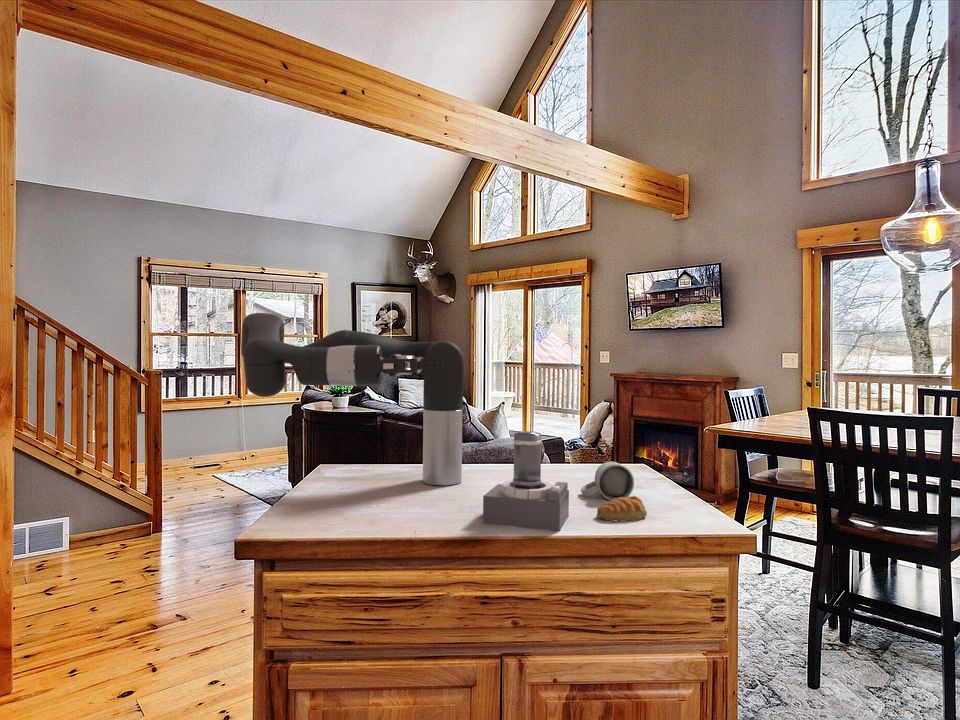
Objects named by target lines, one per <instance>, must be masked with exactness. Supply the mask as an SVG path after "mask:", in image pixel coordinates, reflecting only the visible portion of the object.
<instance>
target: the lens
mask: <svg viewBox="0 0 960 720" xmlns="http://www.w3.org/2000/svg"><path fill="white" fill-rule="evenodd" d="M513 434H514V435H513V436H514V437H513V478H512V480H513V487H514V488H519V489H539V488H540V486H541V481H542V479H541V476H542V475H541V471H542V470H541V469H542V468H541V467H542V465H541V464H542V446H543V445H542V443H543V442H542V441H543V439H542V433H540V432H537V431H532V430H527V431H526V430H523V431H516V432H514V433H513Z"/></svg>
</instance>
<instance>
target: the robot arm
mask: <svg viewBox="0 0 960 720" xmlns="http://www.w3.org/2000/svg"><path fill="white" fill-rule="evenodd" d="M240 345H241V351H240V352H241V356H242V357H243V368H244V378H245V384H246V388H247V389H248V391H249V392H250V393H251V394H253V395H255V396H258V397H261V398H263V397H264V398H265V397H266V398H268V397H273V396H275V395H277V394H279V393H280V392H282V391H283V389H284V388H285V386H286V384H287V376H286V364H288V365H289V364H290V365H291V366H292V368H293V370H294V372H295V375H296V378H297V381H298V382H299V383H300V384H301V385H303V386H339V387H371V386H376V387H377V386H380V385H381V384H382V382H383V374H385V375H389V374H390V376H391V377H398V376H401V375H402V376H404V375H405V376H407V375H408V376H411V375H412V374H420V375H423V399H422V401H423V409H422V410H423V411H422V412H423V413H422V415H423V417H422V418H423V419H422V420H423V422H422V423H423V425H422V426H423V427H422V428H423V430H422V438H423V439H422V483H423V484H427V485H430V486H431V485H432V486H451V485H457V484H460V483H462V475H463V474H462V473H463V472H462V471H463V468H462V467H463V465H462V464H463V403H464V382H465V381H464V377H465V376H464V375H465V374H464V373H465V371H464V370H465V365H464V364H465V360H464V355H463V353H462V350H461V349H460V348H459V347H458V345H456V344H455V343H453V342H451V341H445V340H442V341H410V340H409V341H407V340H403V339H397V338H394V337H390V336H386V335H381V334H377V333H371V332H365V331H357V330H348V329H347V330H346V329H342V330H337V331H335V332H331V333H330V334H328V335H326V336H324V337H322V338H320V339H318V340H316V341H314V342H311V343H309V344H306V345H303V346H301V345H295V344H290V343H285V323H284V320H283V318H281V317H280V316H278V315H276V314H272V313H268V312H267V313H266V312H253V313H250V314H247V315H246V316H245V317H244V319H243V321H242V326H241V343H240Z"/></svg>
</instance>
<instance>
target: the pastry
mask: <svg viewBox="0 0 960 720" xmlns="http://www.w3.org/2000/svg"><path fill="white" fill-rule="evenodd" d="M647 515H648V511H647V509H646V506H645V505H644V503H643V501H642V498H640V497H638V496H636V495H633V496H630V495H629V496H627V497H626V498H622V497H621V498H614V499H612V500H609V501H608V502H605V503H603V504H602V505H600V506H599V507H597V514H596V517H599V518H601V519H604V520H606V521H609V522H610V521H611V522H615V521H614V520H618V521H617V522H628V521H627V520H629V521H633V520H632V519H637V520H641V519H640V518H643V519H645V518H646V516H647ZM621 520H623V521H621ZM624 520H625V521H624Z"/></svg>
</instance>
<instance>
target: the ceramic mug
mask: <svg viewBox="0 0 960 720" xmlns="http://www.w3.org/2000/svg"><path fill="white" fill-rule="evenodd" d="M634 487H635V478H634V476H633V473H632V472H631V470H630V469H629V468H628V467H626V466H624V465H623V464H621V463H619V462H616V461H606V462H604V463H601V464H600V465H599V466H598V467H597V468H596V470H595V474H594V481H592V482H589V483H587V484H585V485H584V486H582V487H581V489H580V492H581V494H582V496H583V497H584V496H585V498H586V497H587V498H588V497H593V496H595V495H597V494H601V496H603V497H604V498H605V499H607V500H608V501H611V500H612V499H614V498H621V497H622V498H626V497H627V496H629V497H630V495H631V494H632V493H633V490H634Z"/></svg>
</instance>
